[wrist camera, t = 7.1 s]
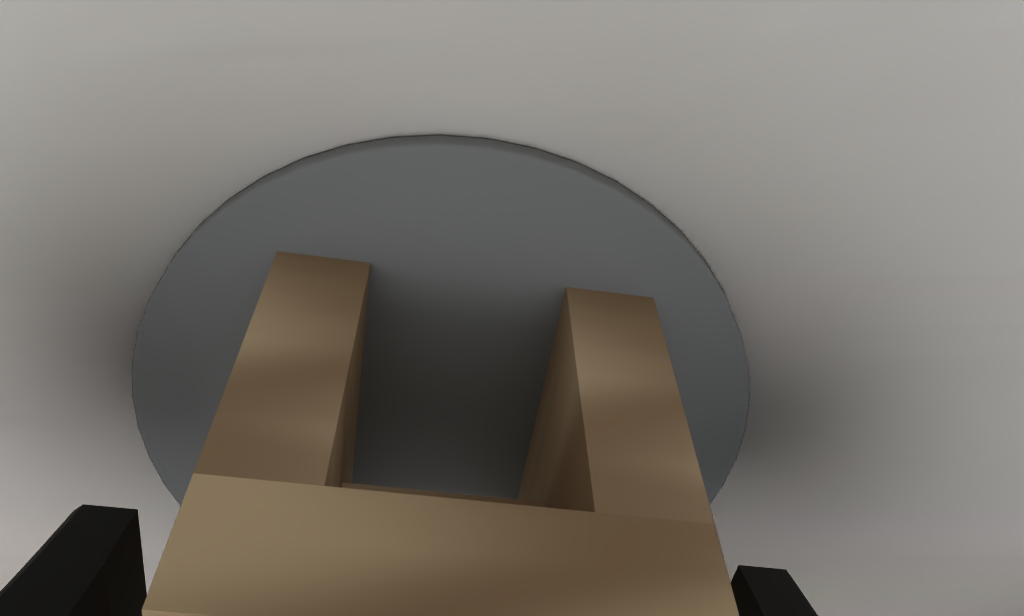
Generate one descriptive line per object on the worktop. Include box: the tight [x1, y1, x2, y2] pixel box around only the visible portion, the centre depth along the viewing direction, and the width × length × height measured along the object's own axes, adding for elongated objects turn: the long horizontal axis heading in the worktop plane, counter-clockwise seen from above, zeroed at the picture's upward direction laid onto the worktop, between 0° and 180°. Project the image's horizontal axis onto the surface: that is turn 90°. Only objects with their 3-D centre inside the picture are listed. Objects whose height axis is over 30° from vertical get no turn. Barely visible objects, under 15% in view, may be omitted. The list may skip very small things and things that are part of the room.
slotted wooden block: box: [142, 251, 739, 616], centre depth 11 cm, size 5×5×6 cm
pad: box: [132, 135, 749, 506], centre depth 14 cm, size 9×9×1 cm
